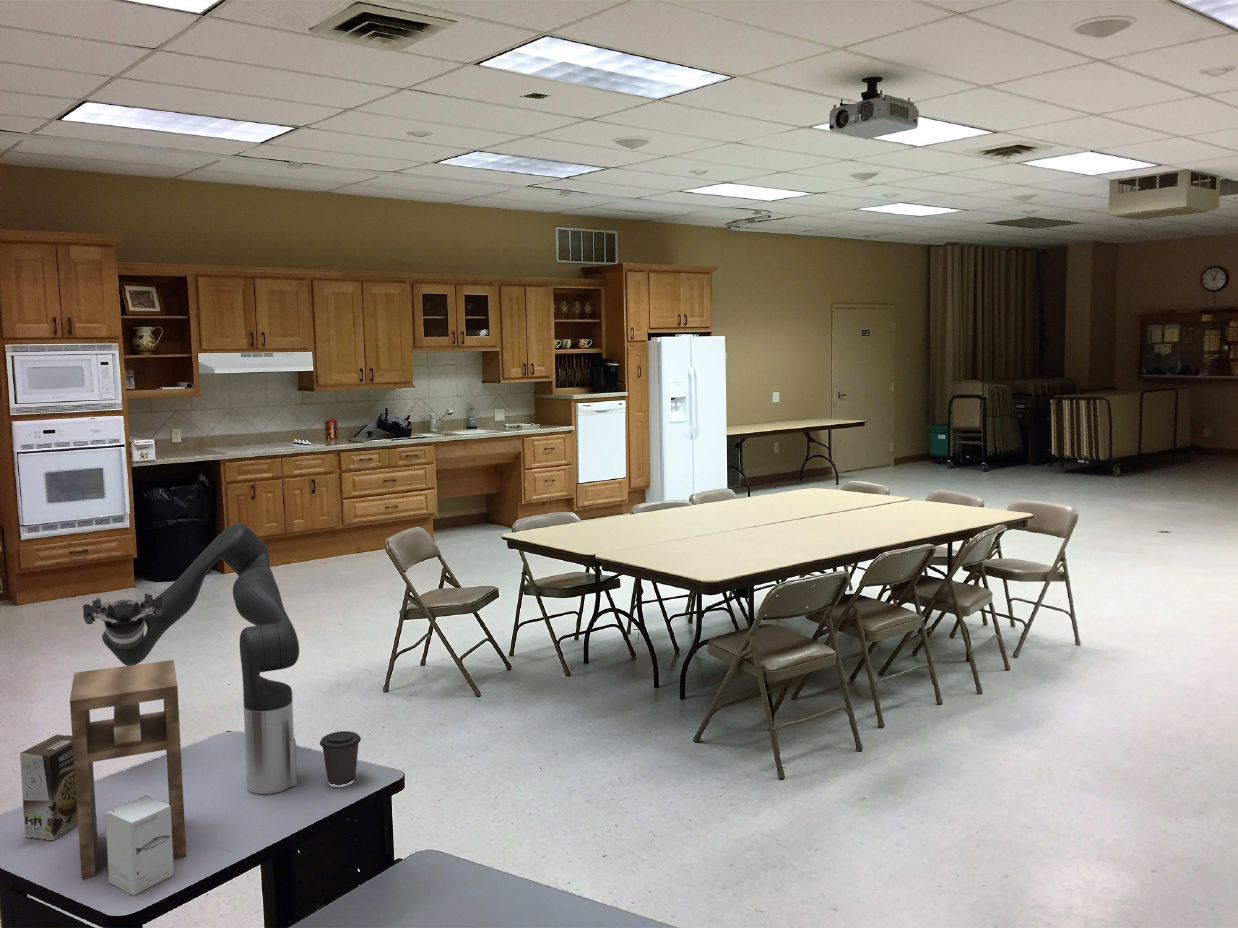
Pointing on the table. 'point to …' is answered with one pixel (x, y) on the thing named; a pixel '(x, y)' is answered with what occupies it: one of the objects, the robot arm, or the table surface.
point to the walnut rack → (99, 743)
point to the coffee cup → (340, 756)
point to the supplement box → (139, 844)
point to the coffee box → (49, 788)
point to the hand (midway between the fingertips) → (122, 599)
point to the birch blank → (127, 723)
